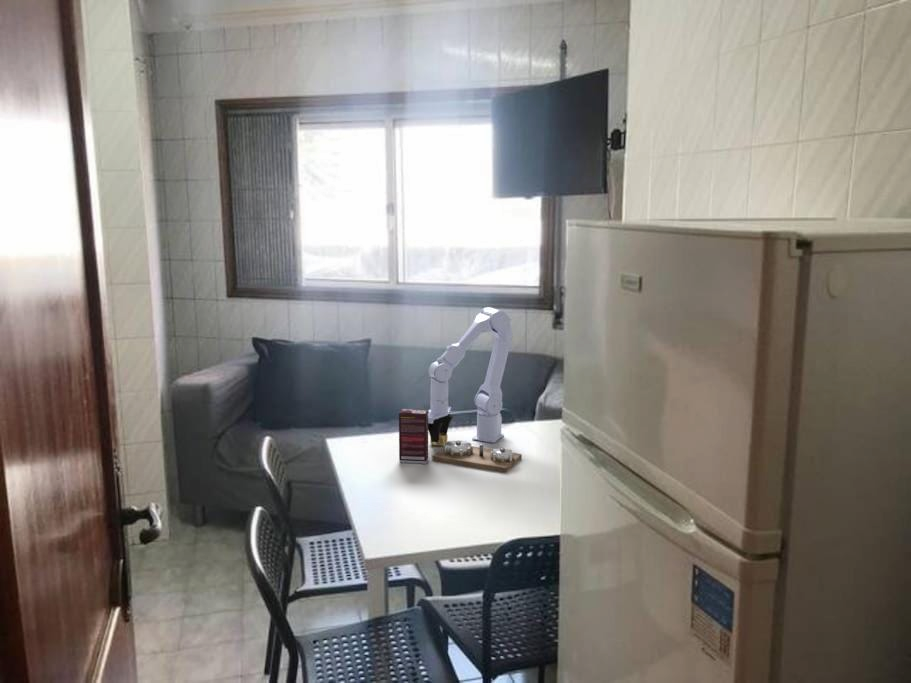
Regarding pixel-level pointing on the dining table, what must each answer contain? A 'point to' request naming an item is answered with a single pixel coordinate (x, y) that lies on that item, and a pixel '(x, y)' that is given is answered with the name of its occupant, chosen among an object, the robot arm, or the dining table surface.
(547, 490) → the dining table surface
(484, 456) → the gear board
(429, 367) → the robot arm
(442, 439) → the brass gear
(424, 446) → the supplement box
